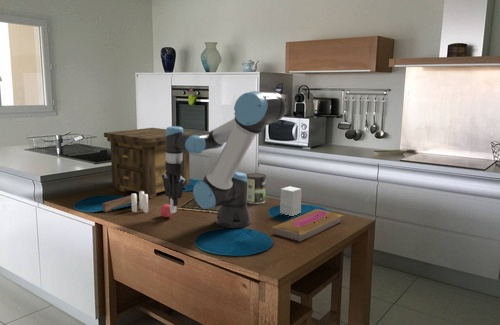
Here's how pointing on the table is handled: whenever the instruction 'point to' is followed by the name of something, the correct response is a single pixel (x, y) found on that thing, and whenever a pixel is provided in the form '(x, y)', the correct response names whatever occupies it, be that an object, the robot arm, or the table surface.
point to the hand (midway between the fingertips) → (173, 212)
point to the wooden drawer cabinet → (141, 160)
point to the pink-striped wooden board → (306, 220)
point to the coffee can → (256, 188)
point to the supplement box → (290, 201)
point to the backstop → (116, 203)
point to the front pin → (145, 203)
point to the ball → (165, 210)
